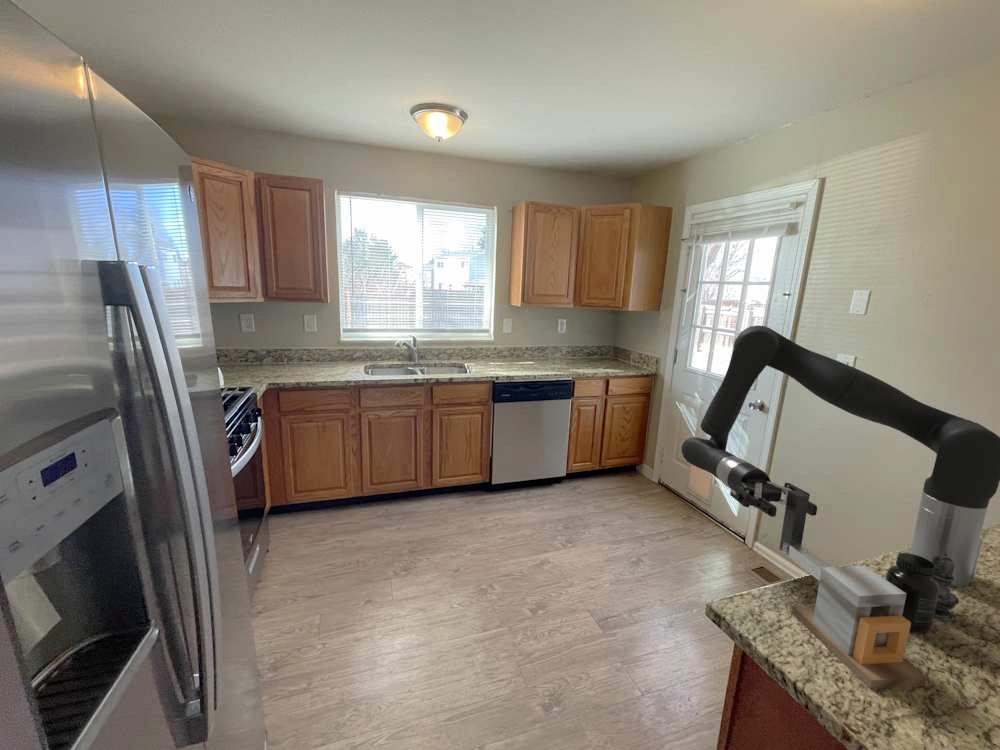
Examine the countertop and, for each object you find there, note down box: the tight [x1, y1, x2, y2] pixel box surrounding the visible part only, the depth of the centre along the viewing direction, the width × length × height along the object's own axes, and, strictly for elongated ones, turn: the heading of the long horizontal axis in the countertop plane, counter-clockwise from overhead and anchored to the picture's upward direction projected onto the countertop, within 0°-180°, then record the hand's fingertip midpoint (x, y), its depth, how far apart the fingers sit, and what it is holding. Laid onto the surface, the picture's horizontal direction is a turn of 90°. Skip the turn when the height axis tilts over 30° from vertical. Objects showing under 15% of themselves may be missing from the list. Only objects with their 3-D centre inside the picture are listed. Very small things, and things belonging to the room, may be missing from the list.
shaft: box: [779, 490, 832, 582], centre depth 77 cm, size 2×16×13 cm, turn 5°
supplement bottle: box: [885, 552, 940, 634], centre depth 76 cm, size 7×7×12 cm
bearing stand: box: [791, 565, 928, 690], centre depth 70 cm, size 9×16×12 cm, turn 5°
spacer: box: [853, 616, 911, 664], centre depth 66 cm, size 7×2×7 cm, turn 95°
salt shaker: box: [932, 552, 960, 621], centre depth 79 cm, size 6×6×12 cm
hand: (795, 511), depth 83 cm, fingers open, 8 cm apart
